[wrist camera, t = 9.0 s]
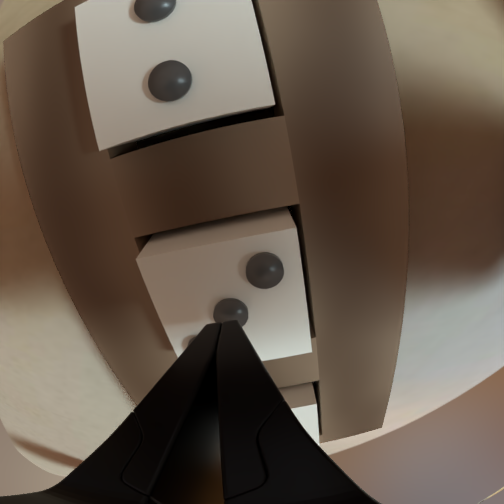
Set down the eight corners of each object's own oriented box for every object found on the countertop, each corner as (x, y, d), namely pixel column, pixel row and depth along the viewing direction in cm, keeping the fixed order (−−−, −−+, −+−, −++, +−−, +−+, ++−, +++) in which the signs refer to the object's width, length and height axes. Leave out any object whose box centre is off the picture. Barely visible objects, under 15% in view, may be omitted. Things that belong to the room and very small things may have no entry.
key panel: (333, -32, 7) (353, -61, 5) (370, 396, 16) (381, 427, 14) (40, 48, 8) (3, 41, 5) (183, 424, 17) (178, 456, 15)
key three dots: (281, 195, 11) (297, 230, 7) (297, 297, 12) (312, 356, 9) (163, 220, 11) (133, 262, 8) (195, 315, 13) (183, 374, 10)
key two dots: (240, -3, 7) (238, -50, 4) (265, 109, 9) (276, 103, 6) (118, 32, 8) (71, 5, 4) (140, 140, 9) (95, 151, 6)
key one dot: (304, 350, 14) (317, 407, 11) (310, 401, 16) (320, 451, 12) (214, 364, 14) (209, 422, 11) (235, 412, 16) (234, 463, 13)
